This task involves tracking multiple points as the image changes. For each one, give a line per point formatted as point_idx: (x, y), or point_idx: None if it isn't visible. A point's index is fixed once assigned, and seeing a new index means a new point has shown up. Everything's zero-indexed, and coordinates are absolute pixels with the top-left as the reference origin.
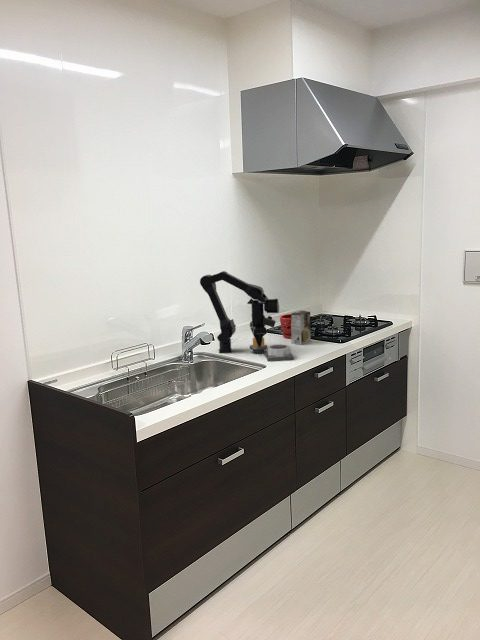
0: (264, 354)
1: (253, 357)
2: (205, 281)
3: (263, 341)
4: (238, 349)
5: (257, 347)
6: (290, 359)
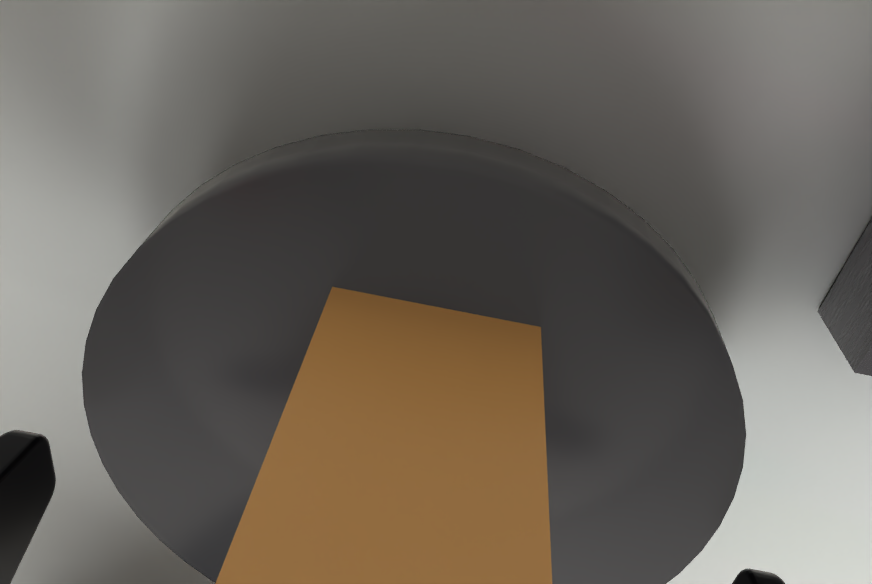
0: (845, 325)
1: (862, 565)
2: None
3: (541, 529)
4: (59, 574)
5: (560, 535)
6: None
